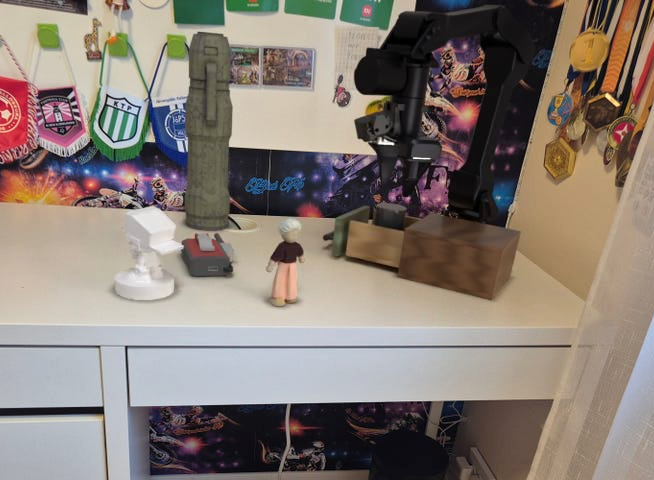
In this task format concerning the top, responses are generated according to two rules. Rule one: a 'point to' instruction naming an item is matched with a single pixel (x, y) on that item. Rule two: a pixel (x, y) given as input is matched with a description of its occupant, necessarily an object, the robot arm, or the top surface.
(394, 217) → the cup
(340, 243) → the drawer
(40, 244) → the top surface
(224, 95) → the thermos
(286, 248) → the grandmother figurine
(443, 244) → the cabinet
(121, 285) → the character figurine
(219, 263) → the walkie-talkie
